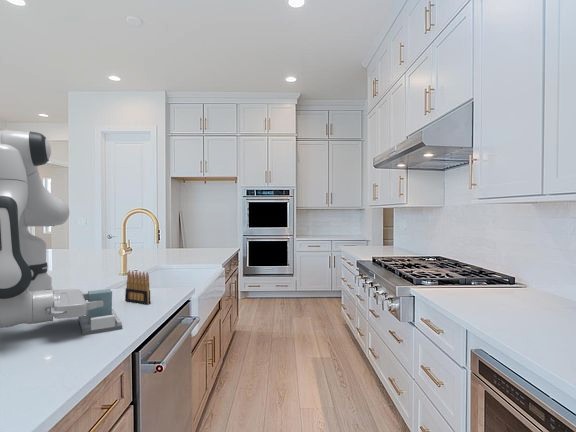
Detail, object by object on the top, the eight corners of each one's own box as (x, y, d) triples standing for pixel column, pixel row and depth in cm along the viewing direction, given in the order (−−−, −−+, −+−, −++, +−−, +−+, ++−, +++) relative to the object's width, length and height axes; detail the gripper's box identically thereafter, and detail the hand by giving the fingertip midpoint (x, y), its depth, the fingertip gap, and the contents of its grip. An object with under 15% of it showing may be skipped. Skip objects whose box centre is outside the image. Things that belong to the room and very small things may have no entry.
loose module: (87, 320, 105) (87, 291, 105) (109, 317, 108) (109, 288, 108) (88, 324, 101) (89, 294, 101) (111, 321, 105) (112, 291, 105)
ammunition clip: (150, 303, 129) (151, 271, 129) (146, 305, 127) (147, 272, 127) (128, 300, 132) (129, 269, 132) (124, 301, 131) (125, 270, 131)
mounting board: (78, 319, 108) (78, 307, 108) (113, 314, 114) (113, 302, 114) (82, 335, 95) (83, 320, 95) (122, 328, 101) (122, 315, 101)
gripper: (45, 303, 88) (106, 296, 96) (45, 287, 105) (97, 283, 113) (45, 327, 88) (105, 318, 96) (45, 308, 105) (96, 302, 113)
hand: (101, 299), depth 105 cm, fingers open, 8 cm apart
